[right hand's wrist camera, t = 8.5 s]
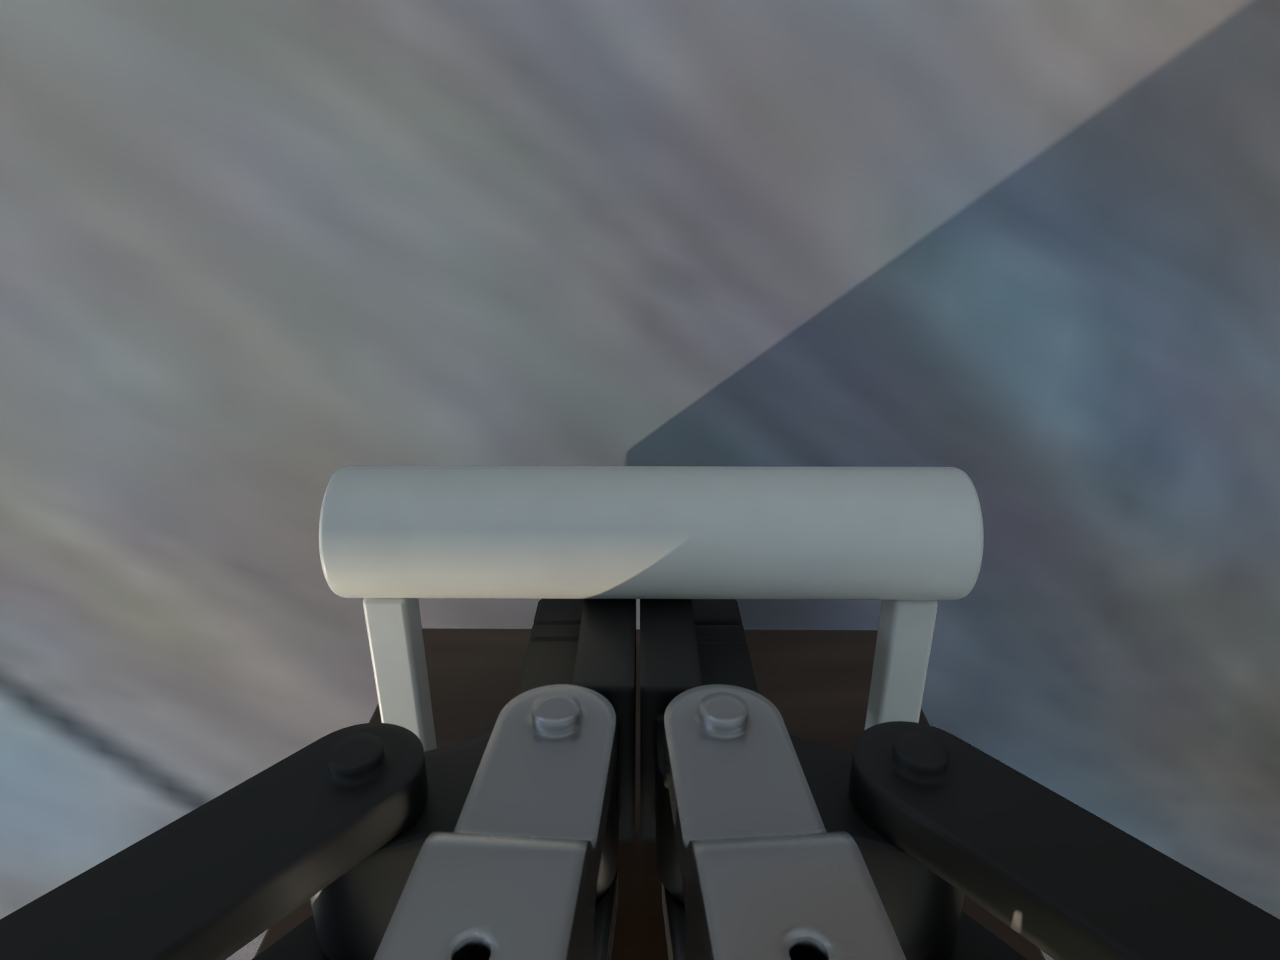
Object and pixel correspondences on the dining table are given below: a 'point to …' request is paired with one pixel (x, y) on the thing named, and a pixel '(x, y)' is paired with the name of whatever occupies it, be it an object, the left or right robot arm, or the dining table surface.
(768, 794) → the right robot arm
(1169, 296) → the dining table surface
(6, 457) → the dining table surface
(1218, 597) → the dining table surface
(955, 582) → the drawer
